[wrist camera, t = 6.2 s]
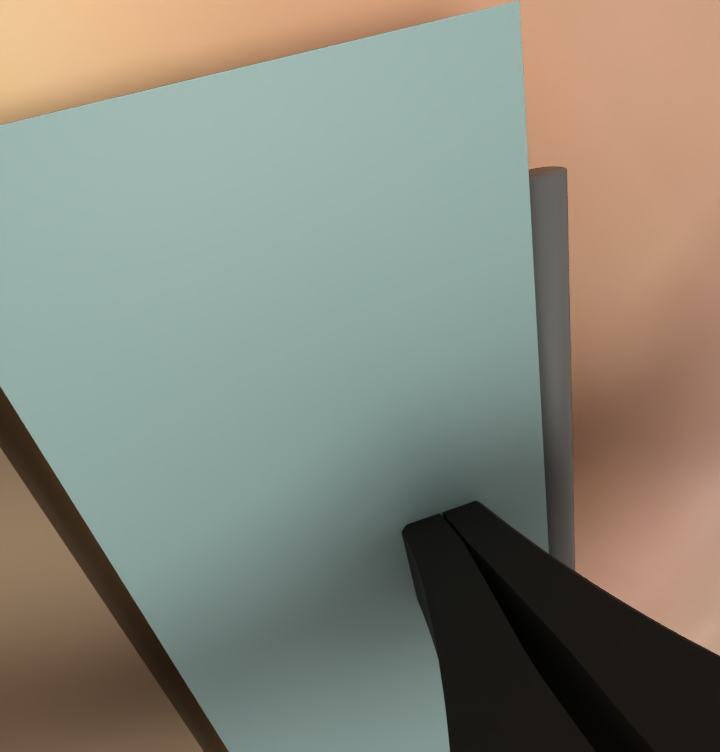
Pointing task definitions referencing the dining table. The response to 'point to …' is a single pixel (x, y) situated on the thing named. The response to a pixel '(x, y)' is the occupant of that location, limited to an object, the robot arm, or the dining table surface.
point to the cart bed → (76, 629)
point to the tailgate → (296, 358)
